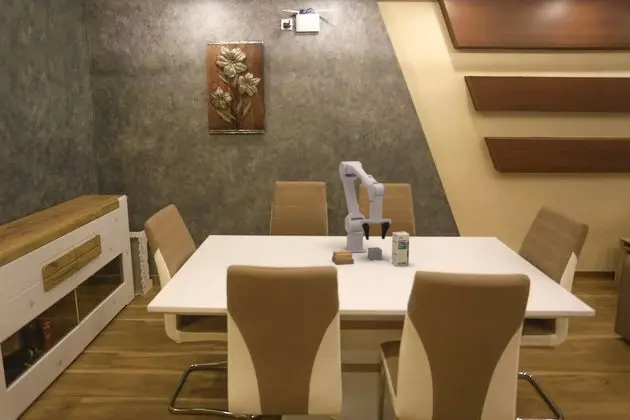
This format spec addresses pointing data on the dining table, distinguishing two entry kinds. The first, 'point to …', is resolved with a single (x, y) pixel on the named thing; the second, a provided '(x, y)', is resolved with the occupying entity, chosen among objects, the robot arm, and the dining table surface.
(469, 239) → the dining table surface
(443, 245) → the dining table surface
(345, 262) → the walnut base block
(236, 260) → the dining table surface
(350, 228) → the robot arm
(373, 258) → the slate cube
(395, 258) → the syrup box
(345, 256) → the oak top block
